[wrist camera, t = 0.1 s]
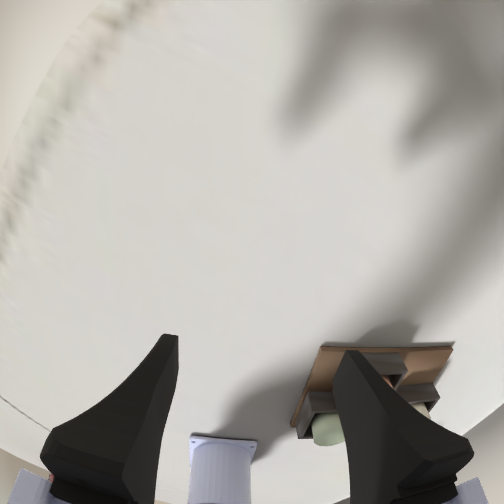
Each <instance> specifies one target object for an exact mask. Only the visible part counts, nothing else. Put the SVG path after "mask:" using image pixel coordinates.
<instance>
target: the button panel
mask: <svg viewBox="0 0 504 504" xmlns="http://www.w3.org/2000/svg"><path fill="white" fill-rule="evenodd" d="M346 350H359V352H360V353H361V354H362V355H363V356H364V357H365V358H366V359H367V360H368V362H369V363H370V364H371V365H372V366H373V367H374V368H375V370H376V371H377V372H378V373H379V374H380V375H387V376H388V378H389V380H390V383H391V385H392V387H393V389H394V390H395V391H396V392H397V393H398V394H399V395H400V396H401V397H402V398H403V399H404V400H405V401H407V402H408V403H409V404H414V403H422V402H424V404H425V407H426V409H427V411H428V413H429V412H430V411H431V409H432V408H433V407H434V405H435V404H436V403H437V401H438V400H439V399H440V396H439V394H438V392H437V390H436V388H435V386H434V385H433V381H434V380H435V378H436V377H437V375H438V374H439V372H440V371H441V369H442V367H443V366H444V364H445V363H446V361H447V359H448V358H449V356H450V354H451V353H452V351H453V348H452V347H451V346H441V347H412V348H350V347H320V350H319V352H318V355H317V358H316V360H315V363H314V366H313V368H312V371H311V374H310V376H309V379H308V381H307V384H306V386H305V389H304V391H303V394H302V396H301V399H300V401H299V404H298V406H297V408H296V411H295V413H294V416H293V418H292V420H291V423H290V425H291V427H296V428H297V435H298V439H314V438H313V433H312V427H311V420H312V418H313V416H314V414H315V413H338V412H337V408H336V404H335V400H334V392H333V384H332V380H333V378H334V375H335V373H336V371H337V369H338V367H339V364H340V362H341V360H342V358H343V355H344V353H345V351H346Z"/></svg>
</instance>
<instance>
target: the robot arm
mask: <svg viewBox="0 0 504 504" xmlns="http://www.w3.org/2000/svg"><path fill="white" fill-rule="evenodd" d="M178 370H179V363H178V336H177V335H170V334H163V335H161V337H160V338H159V340H158V341H157V343H156V344H155V346H154V347H153V348H152V350H151V351H150V352H149V354H148V355H147V356H146V357H145V359H144V360H143V361H142V362H141V363H140V365H139V366H138V367H137V368H136V369H135V370H134V371H133V372H132V373H131V374H130V375H129V376H128V378H127V379H126V380H125V381H124V382H123V383H121V384H120V385H119V386H118V387H117V388H116V389H115V390H114V391H113V392H111V393H110V394H109V395H108V396H106V397H105V398H104V399H103V400H101V401H100V402H99V403H97V404H96V405H94V406H93V407H92V408H90V409H88V410H87V411H85V412H83V413H82V414H80V415H79V416H77V417H75V418H73V419H72V420H69V421H67V422H65V423H63V424H61V425H59V426H57V427H55V428H53V429H52V431H51V433H50V434H49V436H48V437H47V439H46V441H45V444H44V446H43V449H42V451H41V454H40V459H41V461H42V462H43V464H44V465H45V466H46V467H47V469H48V470H49V471H50V472H51V473H52V474H53V475H54V479H53V482H51V481H49V480H47V479H45V478H43V477H41V476H39V475H37V474H34V473H32V472H30V471H28V470H26V469H23V468H21V469H20V471H19V473H18V476H17V478H16V481H15V484H14V487H13V489H12V492H11V495H10V497H9V501H8V503H7V504H154V498H155V488H156V478H157V470H158V462H159V454H160V448H161V441H162V436H163V432H164V428H165V424H166V421H167V417H168V413H169V410H170V406H171V403H172V399H173V396H174V392H175V388H176V382H177V376H178ZM332 384H333V392H334V400H335V404H336V408H337V412H338V415H339V419H340V423H341V427H342V430H343V434H344V438H345V442H346V447H347V455H348V463H349V475H350V504H488V501H487V499H486V496H485V494H484V491H483V489H482V486H481V483H480V481H479V479H478V478H477V477H476V478H474V479H471V480H469V481H467V482H464V483H462V484H460V485H458V486H455V484H454V482H455V481H457V477H456V473H457V472H458V471H459V470H461V469H462V468H463V467H464V466H465V465H466V464H467V463H468V462H470V460H471V459H472V458H473V456H474V451H473V449H472V447H471V445H470V443H469V440H468V439H467V438H465V437H462V436H460V435H458V434H455V433H453V432H451V431H449V430H447V429H445V428H444V427H442V426H440V425H438V424H437V423H435V422H433V421H432V420H430V419H429V418H427V417H426V416H424V415H423V414H422V413H420V412H419V411H418V410H416V409H415V408H414V407H413V406H411V405H410V404H409V403H408V402H407V401H405V400H404V399H403V398H402V397H401V396H400V395H399V394H398V393H397V392H396V391H395V390H394V389H393V388H392V387H391V386H390V385H389V384H388V383H387V382H386V381H385V380H384V379H383V377H382V376H381V375H380V374H379V373H378V372H377V371H376V370H375V368H374V367H373V366H372V365H371V364H370V363H369V362H368V360H367V359H366V358H365V357H364V356H363V355H362V354H361V353H360V352H359V350H346V351H345V353H344V355H343V358H342V360H341V362H340V364H339V367H338V369H337V371H336V373H335V375H334V378H333V380H332ZM256 448H257V442H256V441H245V440H230V439H219V438H209V437H200V436H190V437H189V449H190V467H191V473H190V482H189V492H188V502H187V504H251V473H250V465H251V462H252V459H253V456H254V453H255V450H256Z"/></svg>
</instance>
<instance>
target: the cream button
mask: <svg viewBox="0 0 504 504" xmlns="http://www.w3.org/2000/svg"><path fill="white" fill-rule="evenodd" d="M410 405H411V406H413V407H414V408H415V409H416V410H418V411H419V412H420V413H422V414H423V415H424V416H426V417H427V418H429V419H431V418H430V415H429V413H428V411H427V409H426V407H425V404H424V402H422V403H414V404H410Z"/></svg>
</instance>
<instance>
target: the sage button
mask: <svg viewBox="0 0 504 504" xmlns="http://www.w3.org/2000/svg"><path fill="white" fill-rule="evenodd" d="M311 427H312V433H313V438H314V443H315V444H317V445H319V446H332V445H336V444H339V443H341V442H343V441H345V438H344V434H343V430H342V427H341V423H340V419H339V415H338V413H315V414H314V416H313V418H312V420H311Z"/></svg>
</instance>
